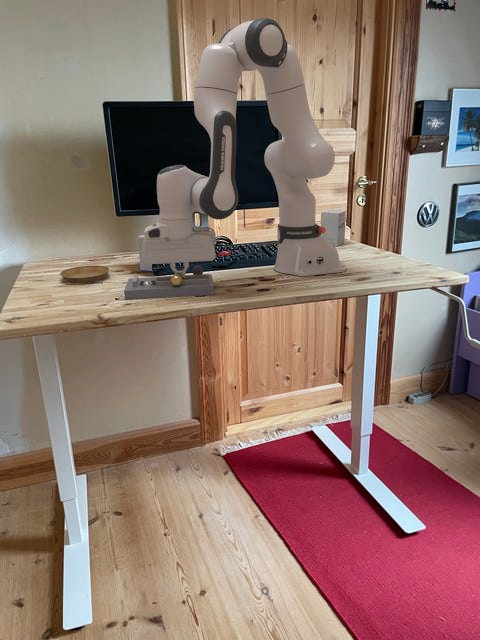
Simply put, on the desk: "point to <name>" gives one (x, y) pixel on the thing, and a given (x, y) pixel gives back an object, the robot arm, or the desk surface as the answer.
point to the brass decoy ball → (176, 280)
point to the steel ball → (147, 283)
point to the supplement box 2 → (334, 226)
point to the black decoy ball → (197, 270)
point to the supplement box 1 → (142, 266)
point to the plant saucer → (85, 274)
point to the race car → (225, 253)
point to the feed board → (169, 287)
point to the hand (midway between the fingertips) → (180, 277)
